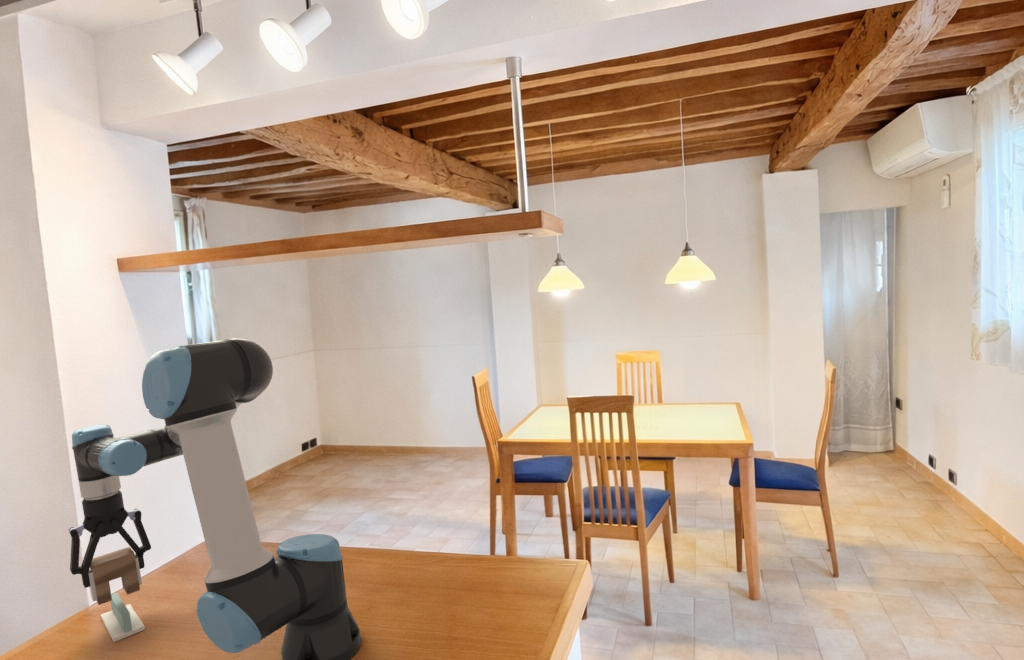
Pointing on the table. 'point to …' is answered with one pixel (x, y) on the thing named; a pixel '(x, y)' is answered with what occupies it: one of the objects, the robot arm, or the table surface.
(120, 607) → the inverted t-shaped bar
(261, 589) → the robot arm
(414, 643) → the table surface
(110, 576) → the brown notched block
